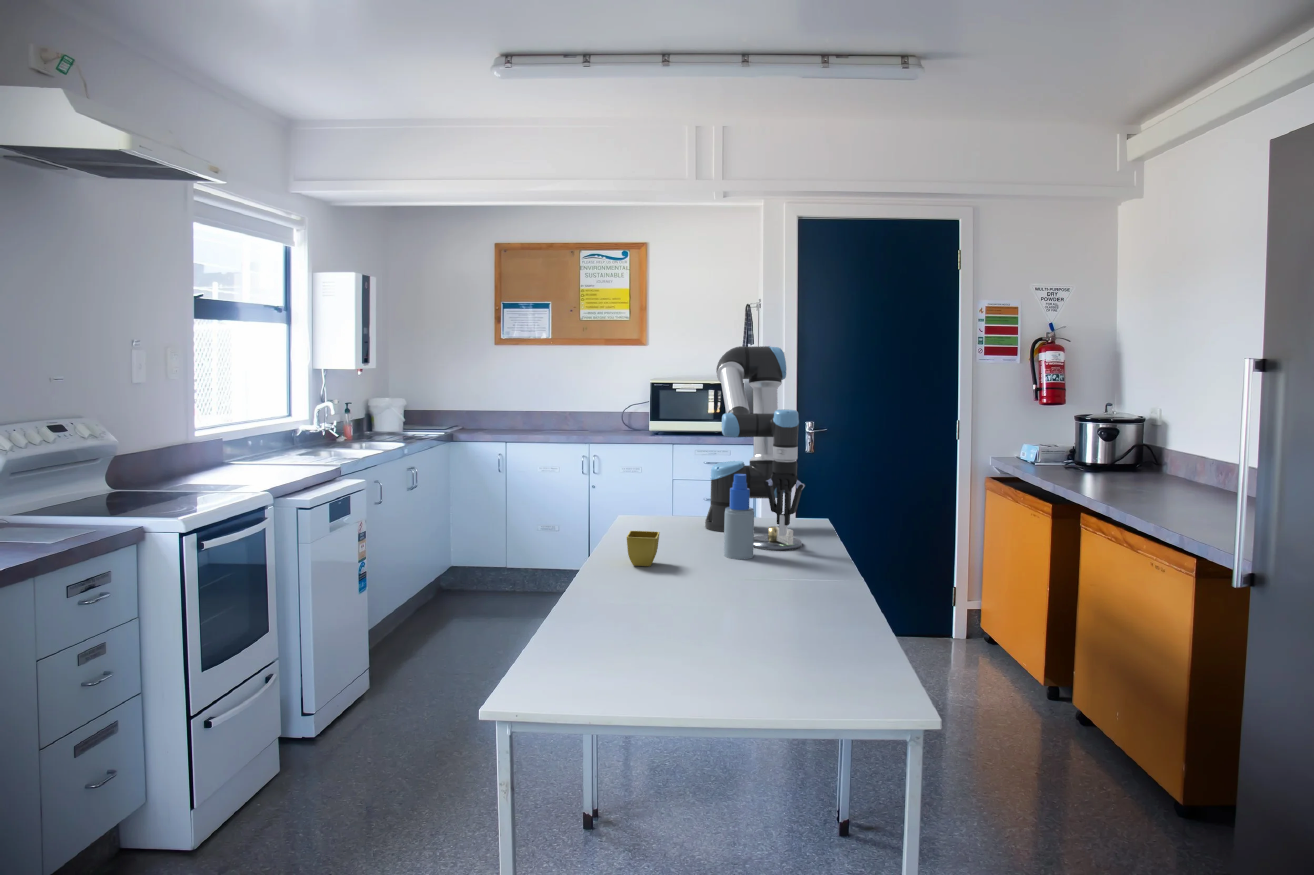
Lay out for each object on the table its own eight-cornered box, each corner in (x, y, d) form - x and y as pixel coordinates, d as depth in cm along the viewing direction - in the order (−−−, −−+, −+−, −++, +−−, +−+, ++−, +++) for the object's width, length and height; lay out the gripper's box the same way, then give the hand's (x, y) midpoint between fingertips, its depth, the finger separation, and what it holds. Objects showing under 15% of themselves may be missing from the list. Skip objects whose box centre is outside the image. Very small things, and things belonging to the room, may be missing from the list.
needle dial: (765, 539, 262) (765, 525, 261) (776, 538, 264) (776, 523, 263) (784, 546, 252) (785, 531, 252) (796, 544, 254) (796, 530, 254)
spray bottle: (751, 552, 250) (753, 472, 248) (754, 559, 241) (756, 476, 239) (723, 552, 250) (724, 472, 248) (724, 559, 241) (726, 476, 239)
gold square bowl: (659, 561, 238) (659, 531, 238) (656, 568, 230) (656, 537, 229) (630, 560, 239) (630, 530, 238) (626, 567, 231) (626, 536, 230)
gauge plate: (754, 537, 272) (754, 532, 271) (805, 541, 266) (805, 536, 266) (743, 548, 256) (743, 543, 255) (796, 552, 250) (796, 548, 250)
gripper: (760, 459, 248) (758, 535, 251) (801, 463, 242) (799, 540, 245) (769, 456, 255) (767, 530, 257) (809, 460, 248) (806, 535, 251)
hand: (782, 535), depth 251 cm, fingers closed
